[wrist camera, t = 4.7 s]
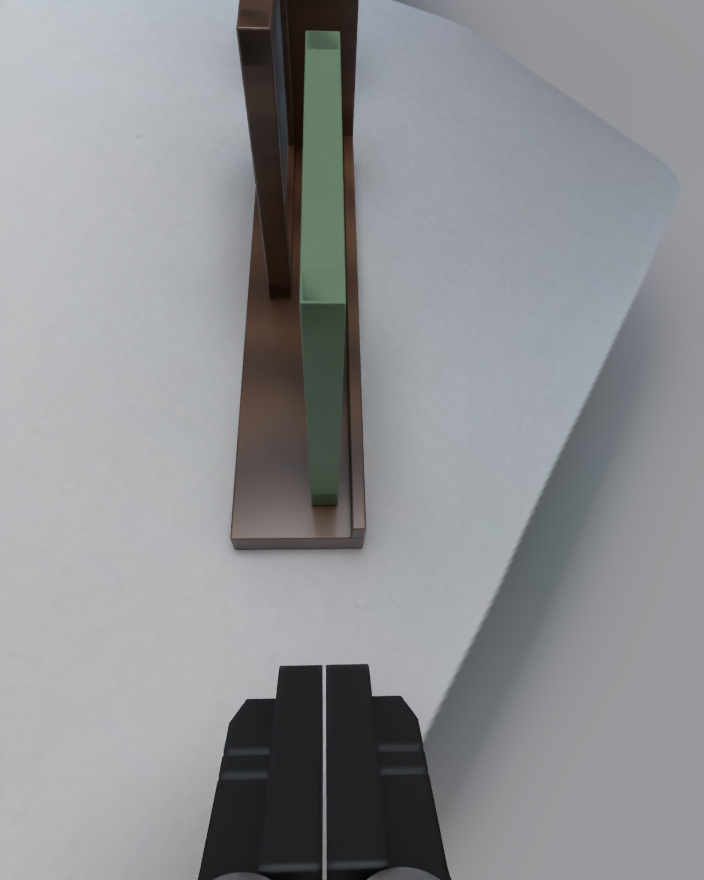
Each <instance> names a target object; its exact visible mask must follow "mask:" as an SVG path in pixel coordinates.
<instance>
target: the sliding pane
mask: <svg viewBox="0 0 704 880" xmlns="http://www.w3.org/2000/svg"><path fill="white" fill-rule="evenodd" d="M299 308H300V324H301V340H302V357H303V374H304V390H305V407H306V424H307V440H308V457H309V474H310V490H311V504H312V505H337V504H338V484H339V460H340V436H341V413H342V389H343V365H344V342H345V319H346V273H345V228H344V183H343V138H342V93H341V48H340V32H339V31H306V32H305V70H304V114H303V158H302V202H301V246H300V290H299Z"/></svg>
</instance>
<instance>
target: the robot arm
mask: <svg viewBox="0 0 704 880" xmlns="http://www.w3.org/2000/svg"><path fill="white" fill-rule="evenodd" d="M326 797H327V880H451V878H450V875H449V871H448V868H447V863H446V859H445V854H444V849H443V843H442V839H441V833H440V828H439V823H438V818H437V813H436V808H435V803H434V798H433V793H432V788H431V782H430V778H429V775H428V767H427V763H426V757H425V752H424V751H423V742H422V737H421V732H420V727H419V722H418V718H417V717H416V715H415V714H414V713H413V711H412V710H411V709H410V708H409V706H408V705H407V704H406V702H405V701H404V700H403V698H402V697H401V696H372V691H371V682H370V673H369V665H368V664H351V665H326ZM322 836H323V697H322V665H307V666H280V668H279V676H278V685H277V694H276V699H247V700H246V701H245V703H244V704H243V705H242V707H241V708H240V709H239V711H238V712H237V713H236V715H235V716H234V717H233V719H232V720H231V722H230V723H229V727H228V732H227V737H226V742H225V747H224V756H223V757H222V762H221V767H220V772H219V781H218V783H217V788H216V793H215V798H214V803H213V808H212V813H211V818H210V823H209V828H208V833H207V838H206V843H205V848H204V853H203V858H202V863H201V868H200V873H199V877H198V880H322Z"/></svg>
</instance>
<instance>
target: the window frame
mask: <svg viewBox="0 0 704 880" xmlns="http://www.w3.org/2000/svg"><path fill="white" fill-rule="evenodd" d="M357 22H358V0H240V1H239V10H238V19H237V27H236V30H237V38H238V46H239V54H240V62H241V70H242V78H243V86H244V94H245V102H246V111H247V119H248V127H249V135H250V143H251V151H252V159H253V167H254V175H255V184H256V191H255V205H254V219H253V233H252V247H251V260H250V274H249V288H248V302H247V316H246V330H245V343H244V357H243V371H242V385H241V399H240V413H239V426H238V440H237V454H236V468H235V482H234V495H233V509H232V523H231V537H230V539H231V541H232V543H233V546H234V548H235V549H299V548H362V547H363V543H364V537H365V531H366V512H365V483H364V453H363V424H362V394H361V365H360V335H359V306H358V276H357V247H356V217H355V188H354V159H353V118H354V94H355V70H356V46H357ZM306 31H339V32H340V48H341V93H342V138H343V183H344V228H345V273H346V319H345V342H344V365H343V389H342V413H341V436H340V460H339V484H338V504H337V505H312V504H311V490H310V474H309V457H308V440H307V424H306V407H305V390H304V374H303V357H302V340H301V324H300V308H299V290H300V246H301V202H302V158H303V114H304V70H305V32H306Z"/></svg>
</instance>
